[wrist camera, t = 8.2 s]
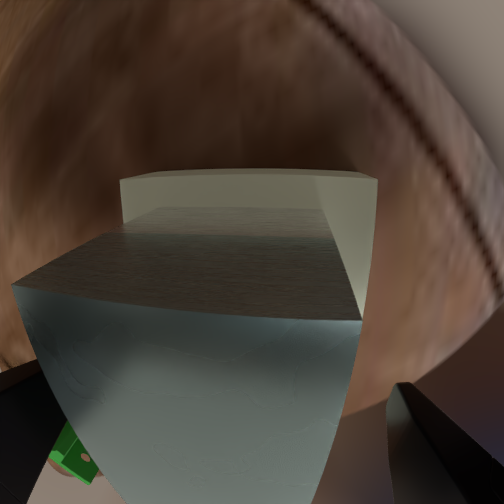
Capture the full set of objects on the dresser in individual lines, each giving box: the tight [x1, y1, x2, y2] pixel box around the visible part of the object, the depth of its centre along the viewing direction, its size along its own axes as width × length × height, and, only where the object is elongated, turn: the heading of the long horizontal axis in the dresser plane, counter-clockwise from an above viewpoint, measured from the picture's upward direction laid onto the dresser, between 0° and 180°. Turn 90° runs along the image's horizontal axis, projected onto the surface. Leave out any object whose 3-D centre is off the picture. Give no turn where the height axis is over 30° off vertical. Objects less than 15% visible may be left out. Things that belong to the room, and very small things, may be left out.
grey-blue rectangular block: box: [11, 207, 363, 504], centre depth 7 cm, size 5×8×6 cm, turn 0°
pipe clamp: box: [49, 421, 99, 485], centre depth 18 cm, size 11×4×5 cm, turn 54°
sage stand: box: [120, 168, 378, 317], centre depth 12 cm, size 10×8×3 cm
